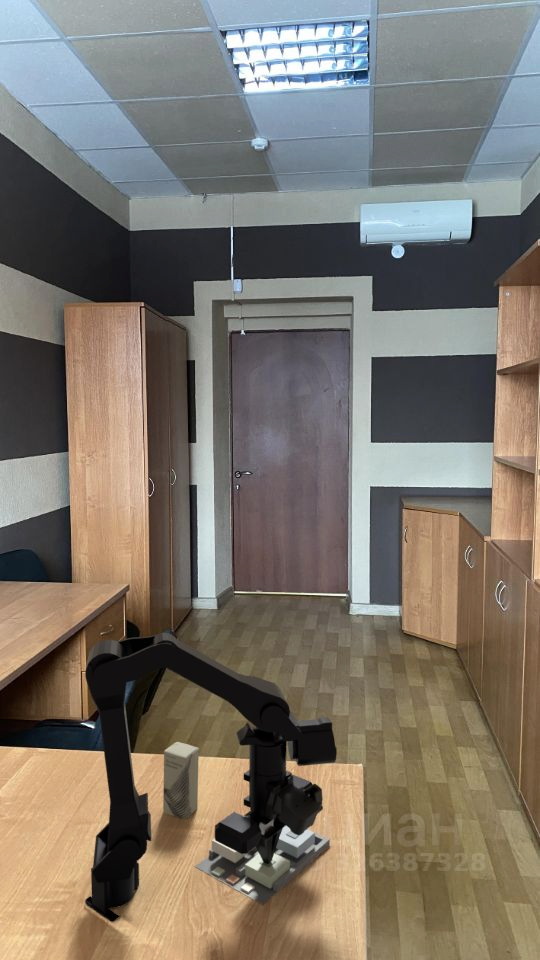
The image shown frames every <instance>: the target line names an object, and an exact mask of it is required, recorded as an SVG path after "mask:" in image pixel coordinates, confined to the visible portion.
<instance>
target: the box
mask: <svg viewBox="0 0 540 960" xmlns="http://www.w3.org/2000/svg"><path fill="white" fill-rule="evenodd" d="M199 750H200V748H199V747H196V746H194V745H190V744H188V743H183V742H179V741H175V742H174V743H173V744H171V745H169V747H168V748H166V749H165V750H164V751H163V797H162V798H163V800H162V806H163V807H162V808H163V809H162V812H163V813H164V814H167V815H169V816H173V817H176V818H179V819H182V820H186V819H188V818H189V817H190V816H191V815H192V814H193V813H194V812H195V811H197V809H198V796H199V794H198V793H199V792H198V791H199V790H198V789H199V788H198V787H199Z"/></svg>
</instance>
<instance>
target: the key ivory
mask: <svg viewBox="0 0 540 960" xmlns="http://www.w3.org/2000/svg"><path fill="white" fill-rule="evenodd" d="M211 848H212V851H213V852H215V853H217V854H219V855H221V856H223V857H225V858H227V859H229V860H231V861H232V862H234V863H236V862H237V861H239V860H240V859H241V858H242V857H244V856H245V855H246V854H241V853H239V852H237V851H235V850H233V849H231V848H229V847H227V846H225V845H223V844H221V843H219V842H217V841H215V837H214V838H213V839H212V840H211ZM253 849H254V848H253ZM253 849H252V850H253ZM249 852H250V851H249ZM249 852H248V853H249Z"/></svg>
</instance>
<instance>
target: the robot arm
mask: <svg viewBox="0 0 540 960" xmlns="http://www.w3.org/2000/svg"><path fill="white" fill-rule="evenodd" d="M85 666H86V668H85V675H84V677H85V681H86V683H87V687H88V691H89V693H90V697H91V698H92V701H93V704H94V705H95V707H96V709H97V712H98V714H99V722H100V729H101V730H100V732H101V737H102V747H103V755H104V763H105V771H106V777H107V779H106V780H107V786H108V795H109V815H108V823H107V824H106V825H105V826H104V827H103V828H102V829H100V831H99V832H97V834H96V835H95V841H94V853H93V861H92V863H93V864H92V867H91V868H90V870H91V871H90V875H91V876H90V877H91V878H90V879H91V882H90V883H91V884H90V885H91V896H88V897H87V898H86V899H85V900H84V904H85V906H86V905H87V907H89V908H90V909H92V910H93V911H94V912H96V913H98V914H99V915H100V916H102V917H104V918H105V919H106V920H107V921H110V923H111V922H115V921H116V920H118V919H119V918H120V917H121V915H119V914H117V913H116V912H114V911H113V910H112V909H114V908H116V909H117V908H119V907H122V906H125V905H126V904H128V903H129V902H130V901H131V900H132V899H133V898H134V896H135V891H137V890H138V888H139V887H140V863H139V862H138V861H139V860H141V859H142V857H143V856H144V855H145V854H146V853H147V849H148V842H151V841H152V819H151V817H152V814H151V813H150V811H149V794H148V792H146V793H145V792H144V793H143V794H139V792H138V790H137V789H136V786H135V777H134V770H133V761H132V760H133V759H132V750H131V742H130V735H129V726H128V719H127V718H128V717H127V710H126V703H125V702H126V691H127V689H126V688H127V683H130V682H133V681H136V680H138V679H140V678H142V677H144V676H146V675H149V674H151V673H153V672H155V671H157V670H160V669H164V668H165V669H167V670H169V671H170V672H171V671H172V672H173V673H174V674H177V675H178V676H180V677H182V678H183V679H185V680H188V681H189V682H191V683H193V684H195V685H197V686H199V687H200V688H202V689H204V690H206V691H208V692H209V693H211V694H213V695H215V696H217V697H219V698H221V699H223V700H224V701H226V702H227V703H229V704H230V705H231V706H233V707H234V708H235V710H237V711H238V712H239V714H240V715H242V716H243V718H244V719H246V720H247V721H248V722H246V723H245V724H244V726H243V727H242V728H240V729H238V730H237V732H236V736H237V737H236V738H237V741H238V743H239V745H240V746H242V747H243V746H249V748H248V749H249V755H248V758H249V759H248V761H249V763H248V764H249V765H248V766H249V767H248V768H249V770H247V771H246V772H244V773H243V780H244V781H245V782H249V783H248V788H249V790H248V791H249V792H248V795H247V796H246V797H244V798H243V806H246V807H248V808H250V809H249V810H250V811H248V812H247V813H245V814H244V815H241V814H239V813H238V812H236V811H233V812H232V813H230V814H229V815H227V816H226V817H225V818H223V819H222V820H220V821H219V822H217V823H216V824H215V825H214V838H215V841H217V842H219V843H221V844H223V845H225V846H227V847H229V848H231V849H233V850H235V851H237V852H239V853H241V854H247V853H248V852H249V851H251V850H252V849H253V848H255V847H256V848H257V850H258V852H259V854H260V856H261V858H262V860H263V862H265V863H267V864H269V863H270V862H271V861H272V858H273V855H274V852H275V849H276V846H277V843H278V840H279V837H280V834H281V832H282V829H283V827H285V826H287V827H289V828H290V830H291V832H293V833H294V834H296V835H301V834H303V833H304V831H305V830H307V829H308V830H309V828H310V827H312V826H313V825H314V824H315V821H316V819H317V816H318V814H319V813H321V812H322V811H323V810H324V806H323V789H322V788H321V787H320V786H319V785H318V784H316V783H312V782H311V781H310V780H308V779H305V778H303V777H300V776H297V775H295V774H293V772H291V771H288V770H287V749H288V755H289V758H290V760H291V761H293V760H294V761H295V762H296V765H297V766H298V767H305V766H315V765H325V764H334V763H336V760H337V754H338V751H337V746H336V740H335V735H334V731H333V723H332V721H331V719H330V717H328V716H327V717H319V718H317V719H304V720H303V719H302V720H297V719H296V717H295V715H294V713H293V712H292V711H291V710H290V705H289V703H288V702H287V699H286V697H285V696H284V694H283V692H282V690H281V689H280V687H279V686H278V685H277V684H276V683H274V682H272V681H268V680H266V679H263V678H260V677H257V676H251V675H244V674H241V673H238V672H236V671H235V670H232V669H231V668H229V667H227V666H225V665H224V664H222V663H220V662H218V661H216V660H215V659H213V658H211V657H210V656H208V655H206V654H204V653H202V652H201V651H199V650H197V649H195V648H193V647H191V646H189V645H187V644H186V643H185V642H183V641H180V640H179V639H177V638H176V637H175V636H174V635H173V634H171V633H168V632H161V633H157V634H153V635H149V636H139V637H138V636H137V637H136V636H135V637H128V638H125V639H121V640H117V641H116V640H115V639H104V640H100V641H98V642H97V643H96V644H94V645H93V646H92V648H91V649H90V650H89V652H88V657H87V660H86V665H85ZM252 725H253V726H252Z"/></svg>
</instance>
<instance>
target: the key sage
mask: <svg viewBox="0 0 540 960" xmlns="http://www.w3.org/2000/svg"><path fill="white" fill-rule="evenodd" d="M289 869H290V861H289V860H287V859H285V858H283V857H281V856H279V855H277V854H275V853H274V855H273V858H272V861H271V862H270V863H269V864H267V863H265V862H263V860H262V858H261V856H260V854H257V855H256V856H255V857H254V858H253V859H251V860H250V861H249V862H248V863H246V864H245V875H246V876H247V877H249V878H251V879H253V880H255V881H257V882H259V883H261V884H262V885H264V886H266V887H268V888H270V889H271V888H272V887H273V883H275V882H276V881H277V880H278V879H279V878H280V877H281V876H282V875H284V874H285V873H286V872H287V871H288V870H289Z"/></svg>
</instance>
